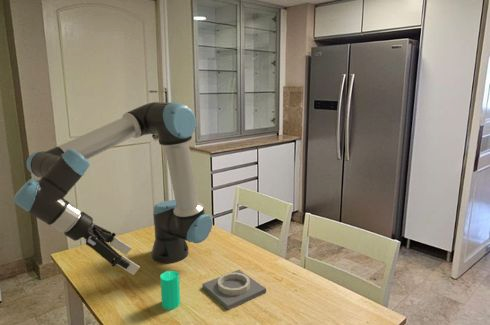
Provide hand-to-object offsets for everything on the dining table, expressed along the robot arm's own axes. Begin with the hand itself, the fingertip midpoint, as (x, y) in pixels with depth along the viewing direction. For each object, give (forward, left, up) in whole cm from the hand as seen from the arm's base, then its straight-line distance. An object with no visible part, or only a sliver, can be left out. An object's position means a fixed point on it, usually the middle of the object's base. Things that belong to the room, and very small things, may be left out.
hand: (132, 260), depth 107 cm
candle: (+2, +11, -19) cm, 22 cm away
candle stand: (+8, +32, -18) cm, 38 cm away
